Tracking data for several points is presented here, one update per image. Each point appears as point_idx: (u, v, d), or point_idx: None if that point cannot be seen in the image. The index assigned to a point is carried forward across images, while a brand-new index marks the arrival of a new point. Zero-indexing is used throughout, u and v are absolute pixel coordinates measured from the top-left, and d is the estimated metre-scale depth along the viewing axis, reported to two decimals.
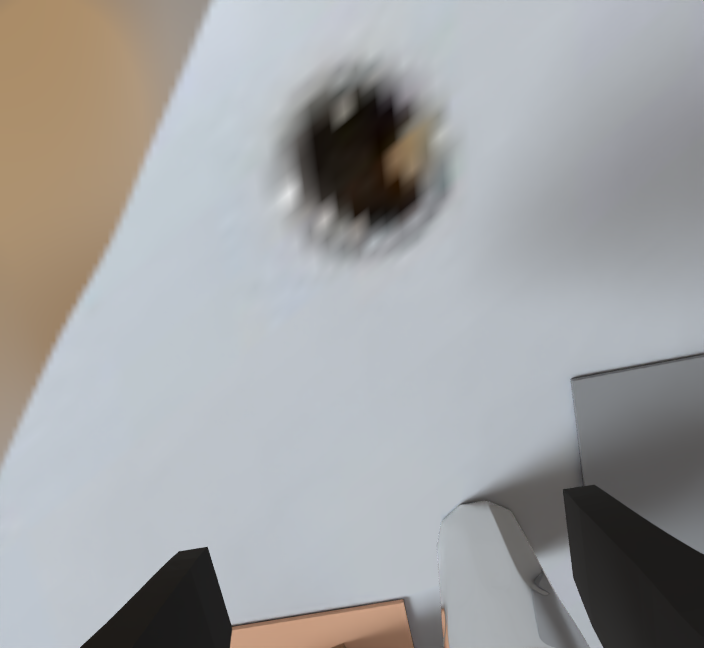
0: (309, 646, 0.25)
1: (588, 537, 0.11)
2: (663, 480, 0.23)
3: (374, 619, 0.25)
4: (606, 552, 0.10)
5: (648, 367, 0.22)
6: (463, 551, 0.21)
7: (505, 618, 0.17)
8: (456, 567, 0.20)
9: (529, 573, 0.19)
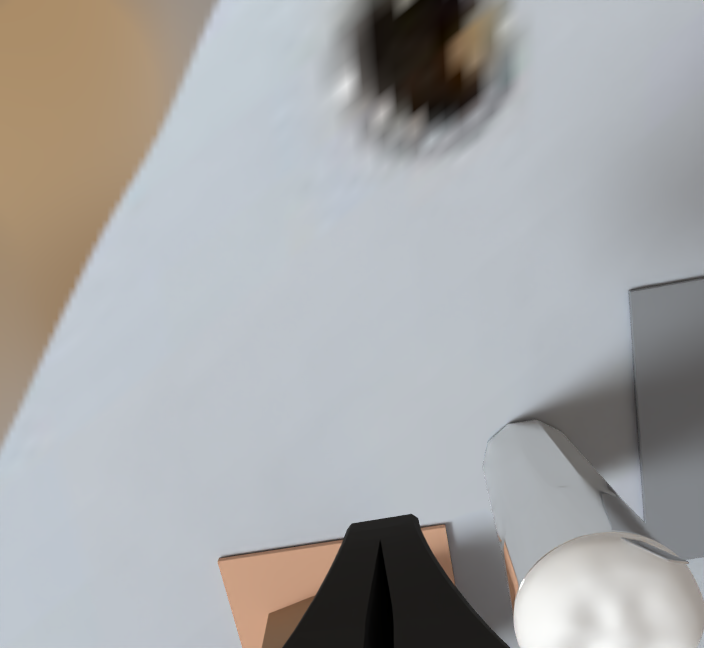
0: None
1: None
2: None
3: None
4: None
5: None
6: (518, 460, 0.20)
7: (575, 509, 0.16)
8: (511, 475, 0.20)
9: (591, 477, 0.18)
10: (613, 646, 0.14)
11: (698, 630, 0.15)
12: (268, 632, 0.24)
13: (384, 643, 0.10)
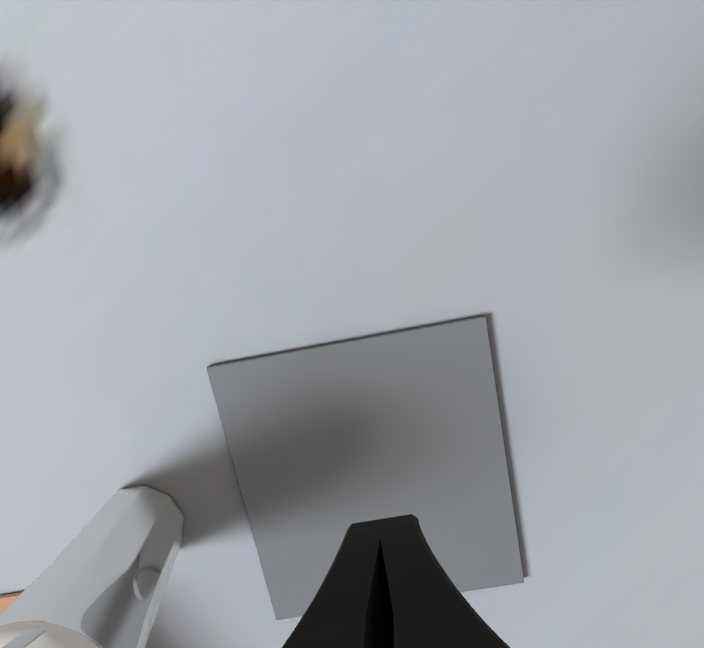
0: None
1: None
2: (310, 467, 0.23)
3: None
4: None
5: (277, 355, 0.22)
6: (80, 532, 0.21)
7: (36, 594, 0.17)
8: None
9: (114, 553, 0.20)
10: None
11: None
12: None
13: (384, 643, 0.10)
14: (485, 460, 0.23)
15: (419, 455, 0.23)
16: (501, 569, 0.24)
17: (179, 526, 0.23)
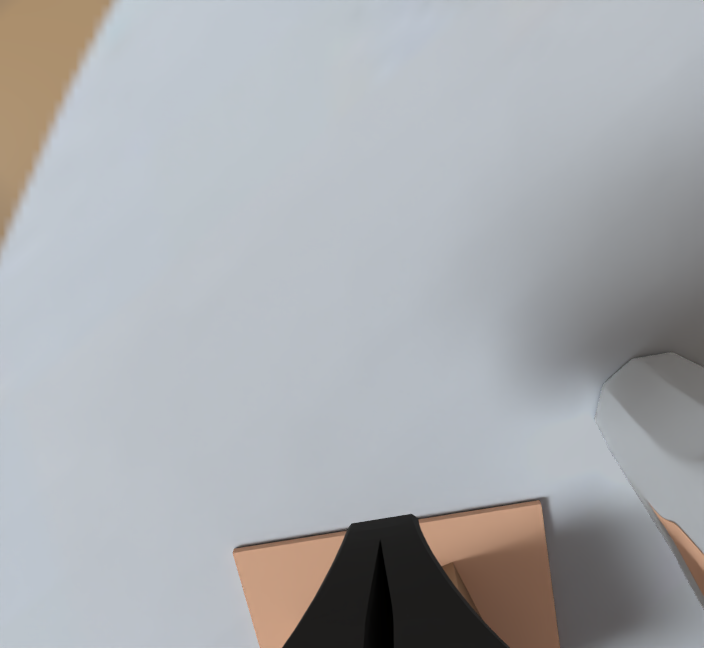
0: None
1: None
2: None
3: (498, 527, 0.18)
4: None
5: None
6: (669, 399, 0.14)
7: None
8: (664, 419, 0.13)
9: None
10: None
11: None
12: None
13: (384, 643, 0.10)
14: None
15: None
16: None
17: None
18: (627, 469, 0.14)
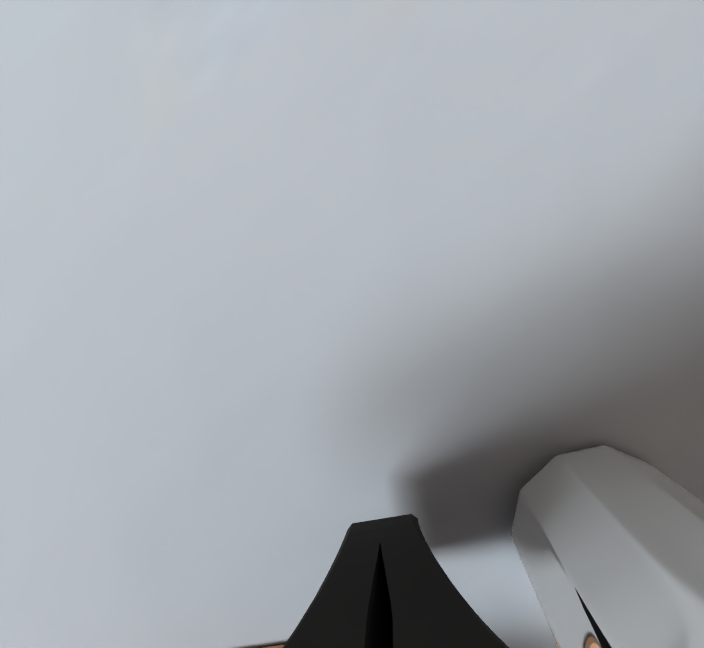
0: None
1: None
2: None
3: None
4: None
5: None
6: (607, 536, 0.10)
7: None
8: (601, 571, 0.09)
9: None
10: None
11: None
12: None
13: (385, 643, 0.10)
14: None
15: None
16: None
17: None
18: (553, 632, 0.10)
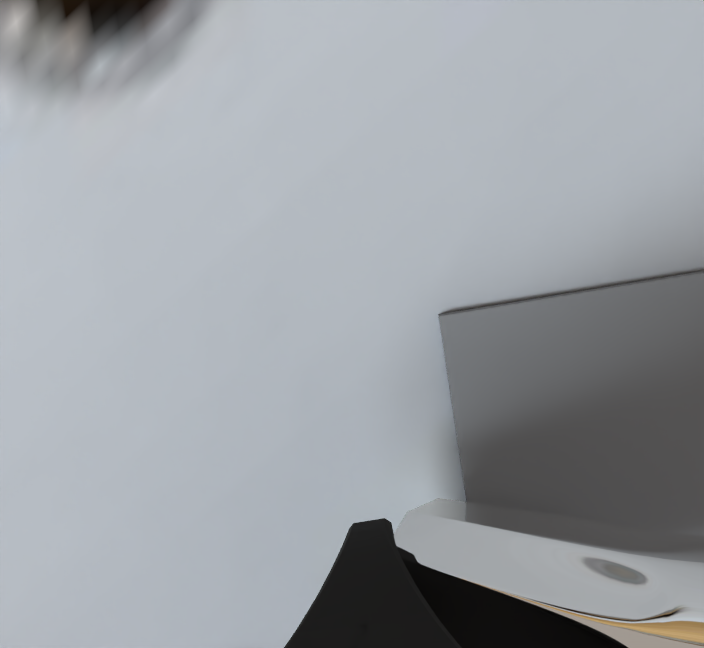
0: None
1: None
2: (594, 491, 0.14)
3: None
4: None
5: (565, 296, 0.13)
6: (519, 546, 0.11)
7: None
8: (535, 574, 0.10)
9: None
10: None
11: None
12: None
13: None
14: None
15: None
16: None
17: None
18: None
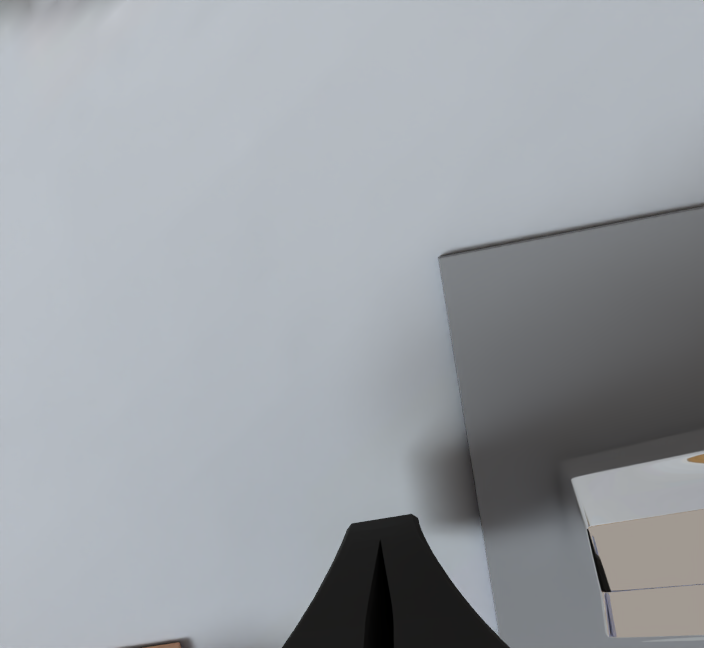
0: None
1: None
2: (607, 444, 0.13)
3: None
4: None
5: (576, 232, 0.12)
6: None
7: None
8: None
9: None
10: None
11: None
12: None
13: (384, 643, 0.10)
14: None
15: None
16: None
17: None
18: None
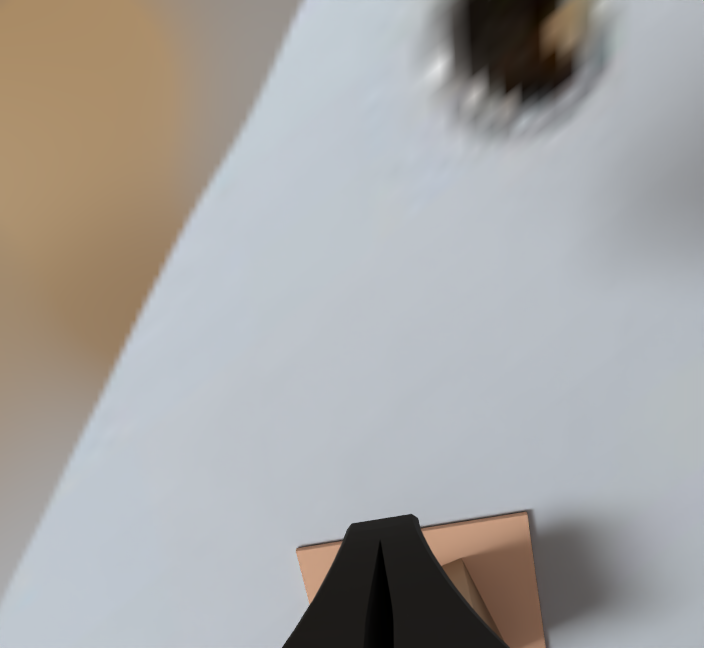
0: None
1: None
2: None
3: (495, 532, 0.24)
4: None
5: None
6: None
7: None
8: None
9: None
10: None
11: None
12: None
13: (384, 643, 0.10)
14: None
15: None
16: None
17: None
18: None
